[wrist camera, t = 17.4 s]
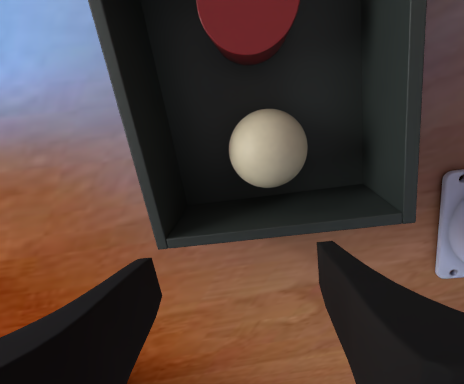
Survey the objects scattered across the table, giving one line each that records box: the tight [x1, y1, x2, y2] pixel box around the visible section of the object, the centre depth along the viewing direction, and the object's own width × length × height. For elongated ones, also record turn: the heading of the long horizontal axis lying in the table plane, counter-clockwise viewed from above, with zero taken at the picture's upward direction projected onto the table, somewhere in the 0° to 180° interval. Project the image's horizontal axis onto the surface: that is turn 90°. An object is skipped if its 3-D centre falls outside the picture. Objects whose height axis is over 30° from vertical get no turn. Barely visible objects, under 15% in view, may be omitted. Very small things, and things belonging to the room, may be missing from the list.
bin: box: [88, 0, 427, 249], centre depth 14 cm, size 13×15×6 cm
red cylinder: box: [196, 0, 300, 65], centre depth 13 cm, size 5×5×4 cm
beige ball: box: [229, 109, 308, 188], centre depth 15 cm, size 4×4×4 cm
